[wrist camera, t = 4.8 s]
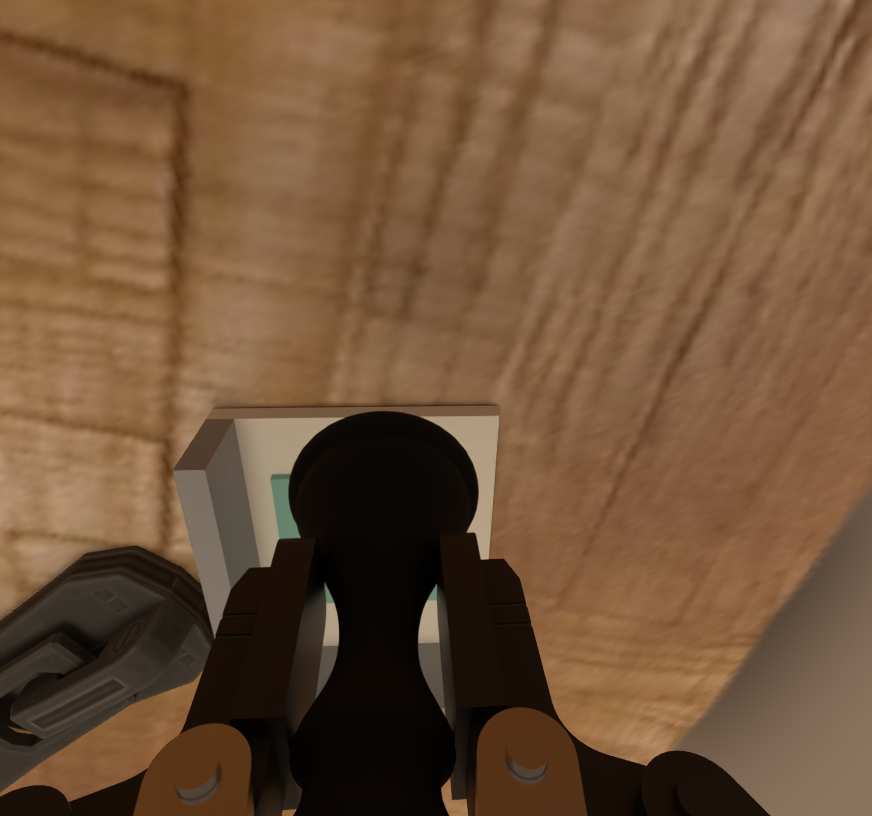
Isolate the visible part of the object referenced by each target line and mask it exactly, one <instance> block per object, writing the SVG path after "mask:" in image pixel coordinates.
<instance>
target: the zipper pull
mask: <svg viewBox="0 0 872 816" xmlns="http://www.w3.org/2000/svg"><path fill="white" fill-rule="evenodd" d="M213 640H215V638H214V634H213V630H212V626H211V622H210V618H209V614H208V610H207V606H206V602H205V598H204V594H203V590H202V586H201V584H200V583H199V582H197V581H196V580H195V579H194V578H193V577H192V576H190V575H189V574H188V573H187V572H186V571H185V570H184V569H182V568H181V567H179V566H177V565H175V564H173V563H171V562H169V561H167V560H165V559H163V558H161V557H159V556H157V555H155V554H153V553H151V552H149V551H147V550H145V549H143V548H141V547H138V546H131V547H125V548H118V549H111V550H105V551H98V552H92V553H86V554H85V555H83V556H82V557H81V558H80V559H79V560H77V561H76V562H75V563H74V564H72V565H71V566H70V567H69V568H68V569H66V570H65V571H64V572H63V573H61V574H60V575H59V576H58V577H57V578H55V579H54V580H53V581H52V582H50V583H49V584H48V585H46V586H45V587H44V588H43V589H41V590H40V591H39V592H37V593H36V594H35V595H33V596H32V597H31V598H30V599H28V600H27V601H26V602H24V603H23V604H22V605H21V606H19V607H18V608H17V609H15V610H14V611H13V612H11V613H10V614H9V615H8V616H6V617H5V618H4V619H2V620H1V621H0V792H2V791H3V790H4V789H6V788H7V787H8V786H10V785H11V784H12V783H14V782H15V781H17V780H18V779H19V778H21V777H22V776H23V775H25V774H26V773H27V772H29V771H30V770H31V769H33V768H34V767H35V766H37V765H38V764H40V763H41V762H42V761H44V760H46V759H47V758H49V757H50V756H52V755H53V754H55V753H56V752H58V751H59V750H61V749H63V748H64V747H66V746H67V745H69V744H70V743H72V742H73V741H75V740H77V739H78V738H80V737H81V736H83V735H84V734H86V733H87V732H89V731H90V730H92V729H94V728H95V727H97V726H98V725H100V724H101V723H103V722H104V721H106V720H108V719H109V718H111V717H112V716H114V715H115V714H117V713H118V712H120V711H121V710H123V709H125V708H126V707H128V706H129V705H131V704H133V703H136V702H139V701H141V700H144V699H147V698H149V697H152V696H155V695H158V694H160V693H163V692H166V691H169V690H171V689H174V688H177V687H180V686H182V685H185V684H188V683H191V682H193V681H194V680H195V679H196V678H197V677H198V675H199V674H200V673H201V672H202V670H203V669H204V666H205V663H206V661H207V658H208V655H209V652H210V649H211V646H212V643H213ZM5 725H6V726H5ZM7 726H10V727H14V728H18V729H22V730H26V731H29V732H31V733H33V734H34V735H33V734H25V733H17V732H15V731H13V730H12V729H10V728H9V727H7Z"/></svg>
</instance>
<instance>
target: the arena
mask: <svg viewBox="0 0 872 816" xmlns="http://www.w3.org/2000/svg"><path fill="white" fill-rule="evenodd" d="M372 411H396V412H403V413H408V414H412V415H416V416H419V417H422V418H424V419H427V420H429V421H431V422H433V423H435V424H437V425H439V426H441V427H442V428H443V429H445V430H446V431H447V432H449V433H450V434H451V435H452V436H454V437H455V438H456V439H457V440H458V442H459V443H460V444H461V445H462V446H463V447H464V449H465V450H466V451H467V453H468V455H469V457H470V459H471V461H472V462H473V465H474V467H475V470H476V474H477V478H478V486H479V499H478V505H477V510H476V513H475V516H474V519H473V521H472V523H471V525H470V527H469V529H468V531H467V533H469V532H475V534H476V537H477V542H478V547H479V552H480V558H481V559H489V547H490V534H491V520H492V507H493V493H494V480H495V467H496V453H497V440H498V427H499V413H498V410H497V407H496V406H405V407H310V408H214V409H213V410H212V411H211V413H210V414H209V416H208V417H207V419H206V420H205V422H204V423H203V425H202V426H201V428H200V429H199V431H198V433H197V434H196V436H195V437H194V439H193V440H192V442H191V443H190V445H189V446H188V448H187V449H186V451H185V452H184V454H183V456H182V457H181V459H180V460H179V462H178V463H177V465H176V466H175V468H174V469H173V474H174V478H175V482H176V486H177V490H178V494H179V498H180V502H181V506H182V510H183V514H184V518H185V522H186V526H187V530H188V534H189V538H190V542H191V546H192V550H193V554H194V558H195V562H196V566H197V570H198V574H199V578H200V582H201V586H202V590H203V594H204V598H205V602H206V606H207V610H208V614H209V618H210V622H211V626H212V630H213V634H214V638H215V634H216V631H217V628H218V625H219V622H220V619H222V614H223V611H224V608H225V605H226V602H227V599H228V596H229V593H230V590H231V588H232V587H233V586H234V585H235V584H236V583H237V581H238V580H239V579H240V578H241V577H242V576H243V574H244V573H245V572H246V571H247V570H248V569H249V568H253V567H270V566H271V562H272V559H273V555H274V551H275V548H276V544H277V542H278V540H279V533H278V526H277V520H276V513H275V507H274V500H273V494H272V487H271V481H270V479H271V476H272V475H278V474H291V471H292V468H293V466H294V463H295V461H296V459H297V457H298V455H299V454H300V452H301V450H302V449H303V447H304V446H305V445H306V444H307V443H308V442H309V441H310V440H311V439H312V438H313V437H314V435H316V434H317V433H319V432H320V431H321V430H323V429H324V428H326V427H327V426H328V425H330V424H332V423H334V422H336V421H338V420H341V419H343V418H345V417H348V416H352V415H355V414H359V413H364V412H372ZM338 644H339V625H338V616H337V611H336V607H335V604H334V603H326V624H325V632H324V640H323V647H322V654H321V662H320V669H319V677H318V684H317V692H316V698H317V696H318V695H319V693H320V692H321V690H322V689H323V687H324V686H325V684H326V682H327V680H328V679H329V677H330V675H331V672H332V670H333V667H334V664H335V660H336V657H337V651H338ZM418 651H419V660H420V665H421V669H422V672H423V675H424V678H425V680H426V682H427V684H428V686H429V688H430V690H431V692H432V694H433V695H434V697H435V699H436V701H437V702H438V704H439V706H440V708H441V709H442V711H443V713H444V715H445V706H444V693H443V681H442V668H441V656H440V643H439V631H438V617H437V600H428V601H427V602H426V604H425V607H424V609H423V613H422V616H421V621H420V627H419V635H418ZM315 700H316V699H315Z"/></svg>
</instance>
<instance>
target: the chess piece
mask: <svg viewBox="0 0 872 816" xmlns="http://www.w3.org/2000/svg"><path fill="white" fill-rule="evenodd" d="M478 499H479V486H478V478H477V474H476V470H475V467H474V465H473V462H472V461H471V459H470V457H469V455H468V453H467V451H466V450H465V449H464V447H463V446H462V445H461V444H460V443H459V442H458V440H457V439H456V438H455V437H454V436H452V435H451V434H450V433H449V432H447V431H446V430H445V429H443V428H442V427H441V426H439V425H437V424H435V423H433V422H431V421H429V420H427V419H424V418H422V417H419V416H416V415H412V414H408V413H403V412H396V411H372V412H364V413H359V414H355V415H352V416H348V417H345V418H343V419H341V420H338V421H336V422H334V423H332V424H330V425H328V426H327V427H326V428H324V429H323V430H321V431H320V432H319V433H317V434H316V435H314V437H313V438H312V439H311V440H310V441H309V442H308V443H307V444H306V445H305V446H304V447H303V449H302V450H301V452H300V454H299V455H298V457H297V459H296V461H295V463H294V466H293V468H292V471H291V475H290V479H289V486H288V500H289V506H290V510H291V513H292V517H293V519H294V521H295V523H296V525H297V528H298V532H299V535H300V537H301V538H311V537H318V538H319V541H320V547H321V556H322V573H323V579H324V582H325V584H326V586H327V588H328V590H329V592H330V594H331V596H332V599H333V601H334V604H335V607H336V611H337V616H338V625H339V644H338V651H337V657H336V660H335V664H334V667H333V670H332V672H331V675H330V677H329V679H328V680H327V682H326V684H325V686H324V687H323V689H322V690H321V692H320V693H319V695H318V696H317V698H316V700H315V701H314V703H313V704H312V706H311V707H310V709H309V710H308V712H307V713H306V715H305V716H304V718H303V719H302V721H301V723H300V725H299V727H298V729H297V731H296V733H295V735H294V738H293V741H292V745H291V751H290V757H289V766H290V771H291V774H292V776H293V778H294V780H295V782H296V783H297V784H298V786H299V787H300V788H301V789H302V795H301V800H300V803H299V805H298V808H297V810H296V812H295V814H294V815H293V816H449V814H448V812H447V810H446V808H445V805H444V802H443V799H442V792H441V787H442V786H443V785H444V784H445V783H446V782H447V781H448V779H449V778H450V776H451V774H452V772H453V770H454V767H455V762H456V749H455V745H454V736H453V732H452V729H451V727H450V725H449V722H448V720H447V718H446V716H445V715H444V713H443V711H442V709H441V708H440V706H439V704H438V702H437V701H436V699H435V697H434V695H433V694H432V692H431V690H430V688H429V686H428V684H427V682H426V680H425V678H424V675H423V672H422V669H421V665H420V660H419V651H418V635H419V627H420V621H421V616H422V613H423V609H424V607H425V604H426V602H427V600H428V598H429V596H430V594H431V593H432V591H433V589H434V588H435V586H436V584H437V580H438V551H437V544H438V534H439V533H467V531H468V529H469V527H470V525H471V523H472V521H473V519H474V516H475V513H476V510H477V505H478Z"/></svg>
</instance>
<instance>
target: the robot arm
mask: <svg viewBox="0 0 872 816" xmlns="http://www.w3.org/2000/svg"><path fill="white" fill-rule="evenodd" d="M437 551H438V580H437V617H438V631H439V643H440V656H441V668H442V681H443V693H444V706H445V716H446V718H447V720H448V722H449V725H450V727H451V729H452V732H453V736H454V745H455V749H456V762H455V767H454V770H453V772H452V774H451V776H450V780H451V793H452V800H458V799H467V808H468V816H770V815H769V814H768V813H767V812H766V811H765V810H764V809H763V808H762V807H761V806H760V805H759V804H758V803H757V802H756V801H755V800H754V799H753V798H752V797H751V796H750V795H749V794H748V793H747V792H746V791H745V790H744V789H743V788H742V787H741V786H740V785H739V784H738V783H737V782H736V781H735V780H734V779H733V778H732V777H731V776H730V775H729V774H728V773H727V772H726V771H724V770H723V769H722V768H721V767H719V766H718V765H717V764H715V763H714V762H712V761H710V760H708V759H706V758H705V757H702V756H700V755H697V754H695V753H691V752H686V751H668V752H665V753H662V754H660V755H658V756H656V757H654V758H653V759H652V760H651V761H650V762H649V764H648V765H647V766H645V765H642V764H638V763H635V762H631V761H628V760H624V759H621V758H617V757H614V756H610V755H607V754H604V753H601V752H598V751H596V750H594V749H592V748H590V747H588V746H587V745H585V744H584V743H582V742H581V741H579V740H578V739H577V738H576V737H574V736H573V735H572V734H571V733H570V732H569V731H568V730H567V728H566V727H565V726H564V725H563V723H562V722H561V720H560V719H559V717H558V715H557V713H556V712H555V709H554V706H553V704H552V700H551V696H550V693H549V689H548V685H547V681H546V677H545V673H544V670H543V666H542V662H541V658H540V654H539V650H538V647H537V643H536V639H535V635H534V631H533V627H531V620H530V616H529V612H528V608H527V607H526V601H525V597H524V593H523V589H522V585H521V582H520V578H519V577H518V576H517V575H516V573H515V572H514V571H513V570H512V568H511V567H510V566H509V565H508V563H507V562H506V561H505V560H504V559H481V558H480V552H479V547H478V542H477V537H476V534H475V532H469V533H439V534H438V544H437ZM325 624H326V591H325V582H324V579H323V573H322V556H321V547H320V541H319V538H318V537H311V538H281V539H279V540H278V542H277V544H276V548H275V551H274V555H273V559H272V562H271V566H270V567H253V568H249V569H248V570H247V571H246V572H245V573H244V574H243V576H242V577H241V578H240V579H239V580H238V581H237V583H236V584H235V585H234V586H233V587H232V588H231V590H230V593H229V596H228V599H227V602H226V605H225V608H224V611H223V614H222V619H220V622H219V625H218V628H217V631H216V634H215V640H213V643H212V646H211V649H210V652H209V655H208V658H207V661H206V663H205V666H204V669H203V672H202V675H201V678H200V681H199V684H198V687H197V690H196V693H195V696H194V699H193V702H192V705H191V708H190V710H189V713H188V716H187V719H186V722H185V724H184V727H183V729H182V731H181V733H180V734H179V735H178V736H177V737H175V738H174V739H172V740H171V741H170V742H169V743H168V744H166V745H165V746H164V747H163V748H162V749H161V750H160V752H159V753H158V754H157V755H156V756H155V758H154V759H153V761H152V762H151V764H150V765H149V767H148V768H147V769H146V770H144V771H143V772H141V773H139V774H138V775H136V776H134V777H132V778H130V779H128V780H126V781H123V782H121V783H118V784H116V785H113V786H110V787H108V788H105V789H102V790H100V791H97V792H94V793H92V794H89V795H86V796H84V797H81V798H78V799H76V800H73V801H70V802H68V801H67V799H66V797H65V796H64V795H63V794H62V793H61V792H60V791H59V790H57V789H55V788H53V787H50V786H44V785H33V786H28V787H23V788H20V789H17V790H14V791H11V792H9V793H7V794H5V795H2V796H0V816H282V811H283V810H290V809H297V808H298V805H299V803H300V800H301V795H302V789H301V788H300V787H299V786H298V784H297V783H296V782H295V780H294V778H293V776H292V774H291V771H290V766H289V757H290V751H291V745H292V741H293V738H294V735H295V733H296V731H297V729H298V727H299V725H300V723H301V721H302V719H303V718H304V716H305V715H306V713H307V712H308V710H309V709H310V707H311V706H312V704H313V703H314V701H315V699H316V692H317V684H318V677H319V669H320V662H321V654H322V647H323V640H324V632H325Z"/></svg>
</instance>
